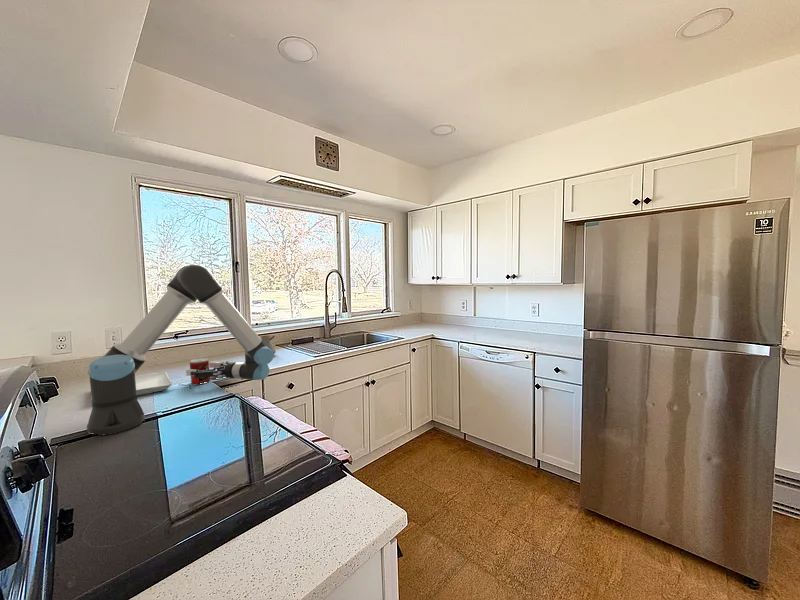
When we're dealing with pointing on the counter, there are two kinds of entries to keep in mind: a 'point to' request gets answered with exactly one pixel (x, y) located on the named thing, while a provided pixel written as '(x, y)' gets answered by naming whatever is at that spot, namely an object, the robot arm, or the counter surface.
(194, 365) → the canned food
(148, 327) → the robot arm
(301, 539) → the counter surface
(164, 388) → the square plate
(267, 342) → the coffee pot
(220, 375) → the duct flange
